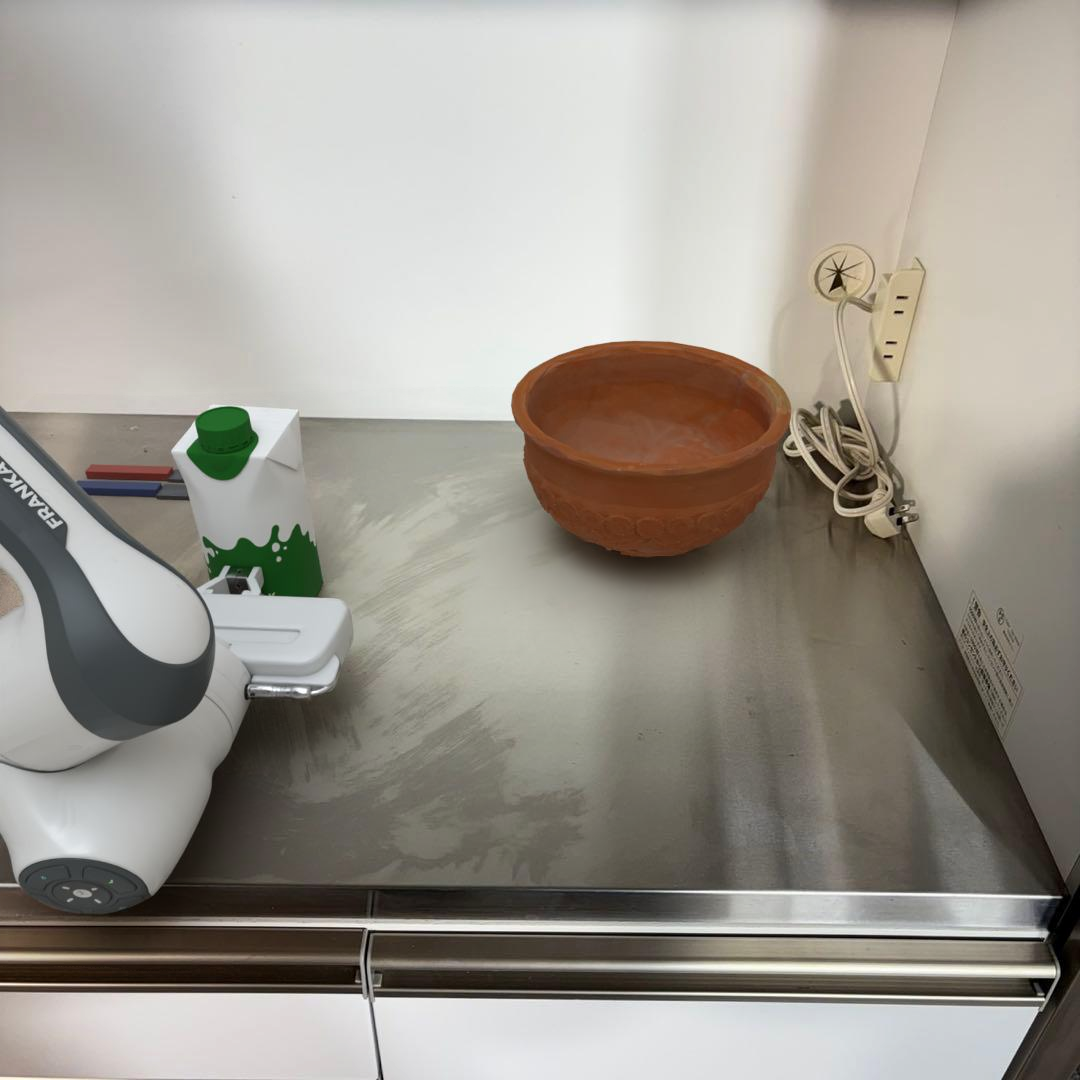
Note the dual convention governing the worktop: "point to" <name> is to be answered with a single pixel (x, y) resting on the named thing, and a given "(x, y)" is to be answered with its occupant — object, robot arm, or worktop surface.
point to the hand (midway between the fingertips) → (245, 572)
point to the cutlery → (134, 487)
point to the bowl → (649, 443)
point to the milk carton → (252, 495)
